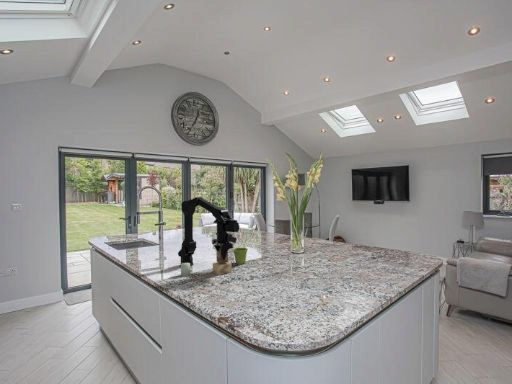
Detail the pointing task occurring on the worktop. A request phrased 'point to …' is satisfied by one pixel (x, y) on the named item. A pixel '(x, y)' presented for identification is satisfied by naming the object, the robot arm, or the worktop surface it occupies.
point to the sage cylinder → (185, 269)
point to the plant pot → (240, 255)
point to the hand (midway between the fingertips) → (222, 258)
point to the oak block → (222, 268)
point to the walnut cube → (219, 257)
